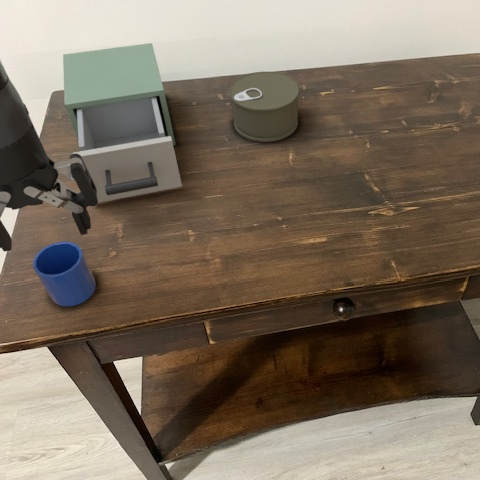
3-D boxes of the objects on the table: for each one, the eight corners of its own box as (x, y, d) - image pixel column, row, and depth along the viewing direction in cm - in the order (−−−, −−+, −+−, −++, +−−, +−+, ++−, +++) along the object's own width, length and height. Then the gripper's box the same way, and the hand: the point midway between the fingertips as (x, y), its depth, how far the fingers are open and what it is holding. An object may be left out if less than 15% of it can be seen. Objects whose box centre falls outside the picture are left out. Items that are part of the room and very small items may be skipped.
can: (311, 130, 96) (311, 96, 91) (251, 150, 91) (248, 116, 86) (279, 97, 102) (277, 65, 97) (222, 115, 98) (217, 82, 93)
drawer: (187, 207, 80) (177, 161, 74) (92, 226, 77) (73, 180, 70) (169, 132, 92) (159, 87, 86) (87, 146, 89) (70, 100, 83)
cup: (50, 311, 68) (32, 281, 63) (50, 278, 72) (33, 247, 67) (97, 300, 69) (82, 270, 65) (94, 268, 73) (81, 237, 68)
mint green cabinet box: (175, 145, 92) (163, 89, 84) (85, 160, 88) (64, 104, 80) (163, 96, 102) (151, 42, 94) (82, 108, 98) (63, 54, 90)
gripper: (-101, 164, 48) (-20, 275, 60) (66, 135, 51) (111, 246, 63) (-89, 117, 52) (-16, 229, 64) (64, 93, 56) (106, 204, 68)
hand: (47, 237), depth 64 cm, fingers open, 8 cm apart
